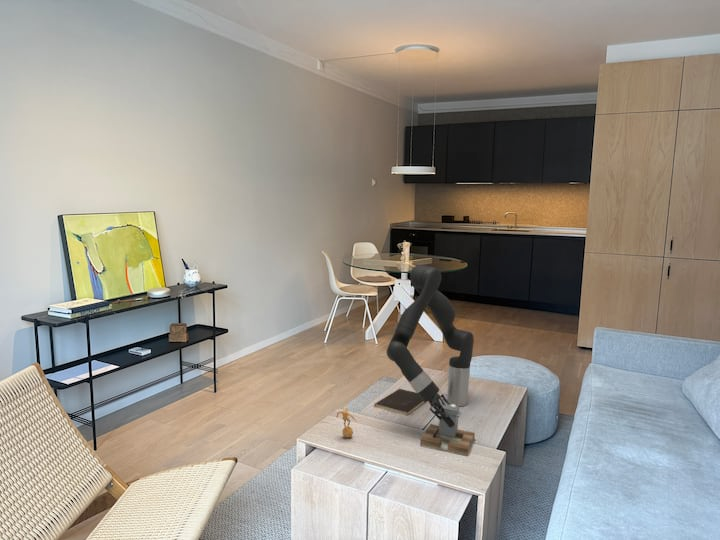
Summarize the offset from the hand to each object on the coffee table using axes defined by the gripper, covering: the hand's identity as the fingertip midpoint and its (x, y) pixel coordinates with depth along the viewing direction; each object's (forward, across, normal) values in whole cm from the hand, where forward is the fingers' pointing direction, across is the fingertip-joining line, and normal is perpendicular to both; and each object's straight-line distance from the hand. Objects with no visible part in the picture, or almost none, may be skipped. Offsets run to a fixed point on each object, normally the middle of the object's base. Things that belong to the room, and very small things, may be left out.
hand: (453, 423), depth 188 cm
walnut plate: (+4, 0, +7) cm, 8 cm away
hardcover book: (-14, +30, +26) cm, 42 cm away
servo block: (+2, 0, +4) cm, 5 cm away
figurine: (-20, -14, +32) cm, 40 cm away
